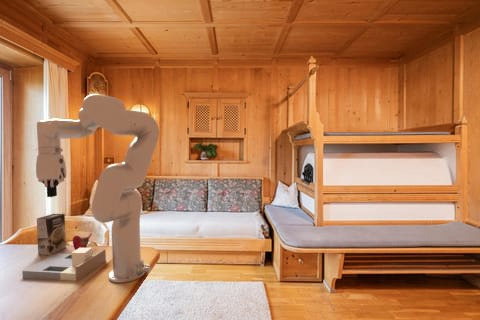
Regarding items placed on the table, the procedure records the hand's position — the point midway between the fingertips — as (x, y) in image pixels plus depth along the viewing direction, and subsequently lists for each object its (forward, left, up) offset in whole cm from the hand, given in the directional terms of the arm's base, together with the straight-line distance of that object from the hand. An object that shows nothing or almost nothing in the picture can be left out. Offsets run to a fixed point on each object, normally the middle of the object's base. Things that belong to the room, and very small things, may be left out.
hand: (52, 196), depth 112 cm
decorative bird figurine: (-6, -9, -27) cm, 29 cm away
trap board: (-10, +6, -27) cm, 30 cm away
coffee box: (+10, -10, -27) cm, 31 cm away
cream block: (-16, +6, -25) cm, 30 cm away
